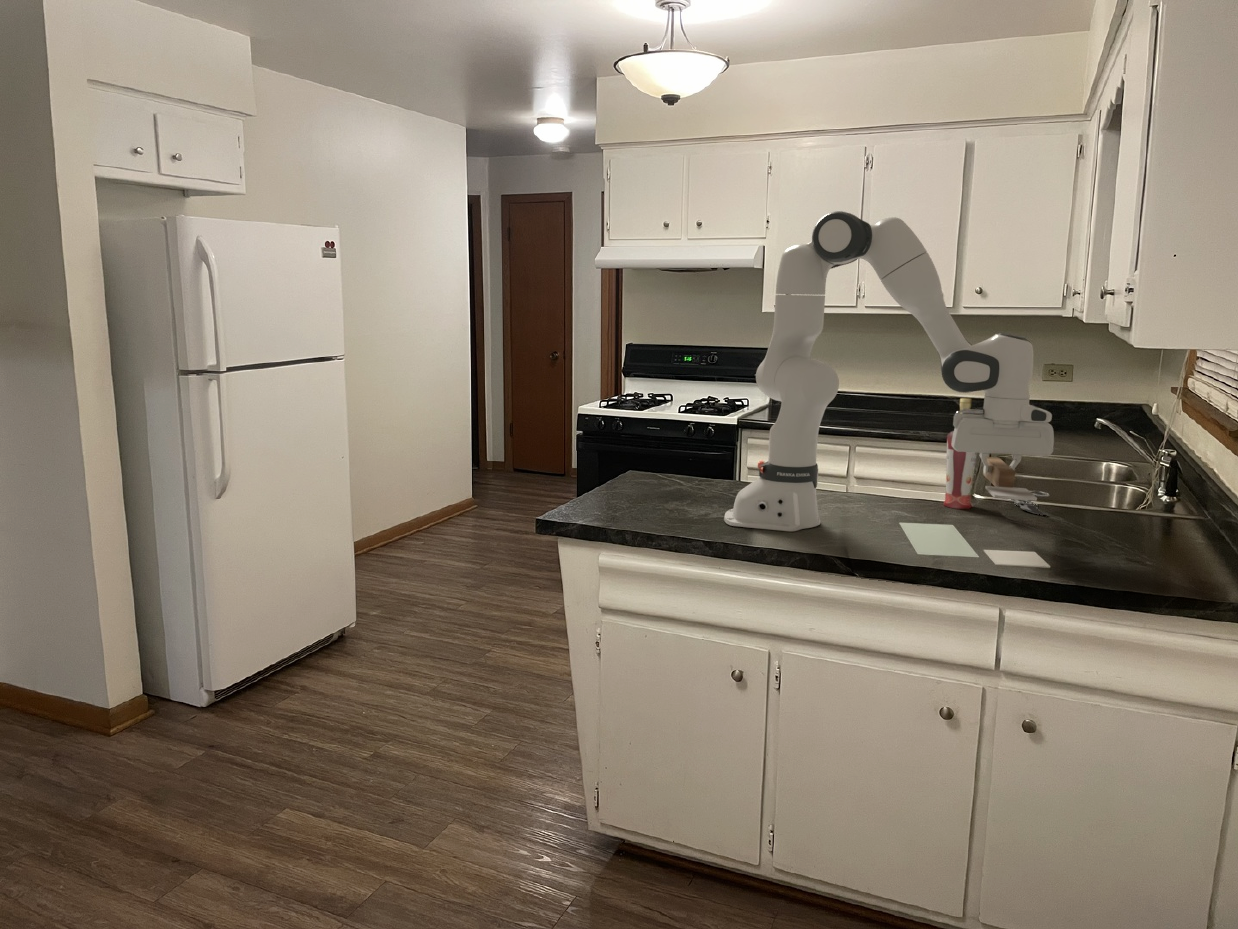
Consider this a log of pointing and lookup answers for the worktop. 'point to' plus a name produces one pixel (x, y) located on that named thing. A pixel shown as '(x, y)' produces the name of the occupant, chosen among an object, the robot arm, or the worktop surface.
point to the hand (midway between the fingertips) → (998, 474)
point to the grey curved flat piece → (1029, 504)
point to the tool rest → (937, 540)
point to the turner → (1005, 482)
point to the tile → (1016, 558)
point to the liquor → (959, 471)
